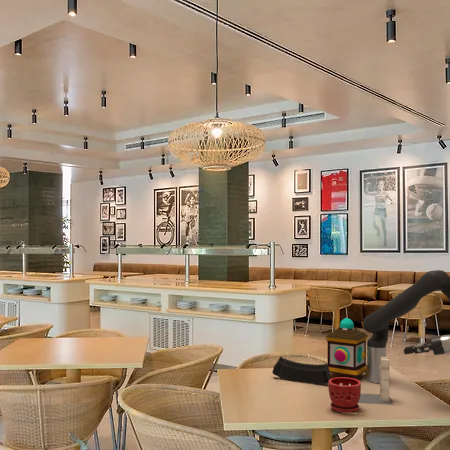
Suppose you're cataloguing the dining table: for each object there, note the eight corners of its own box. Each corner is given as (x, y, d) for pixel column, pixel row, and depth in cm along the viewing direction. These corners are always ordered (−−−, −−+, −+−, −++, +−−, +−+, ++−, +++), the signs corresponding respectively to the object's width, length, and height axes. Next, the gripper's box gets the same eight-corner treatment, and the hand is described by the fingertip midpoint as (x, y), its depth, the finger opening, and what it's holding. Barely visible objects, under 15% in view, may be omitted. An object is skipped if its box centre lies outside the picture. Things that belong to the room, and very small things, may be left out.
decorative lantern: (358, 383, 267) (358, 322, 268) (320, 377, 278) (321, 318, 279) (372, 375, 284) (372, 317, 285) (336, 370, 295) (336, 314, 296)
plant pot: (324, 405, 231) (324, 376, 232) (355, 405, 232) (355, 376, 232) (333, 415, 218) (333, 385, 219) (365, 414, 219) (365, 384, 219)
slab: (379, 397, 241) (380, 356, 242) (387, 398, 241) (387, 357, 241) (381, 401, 235) (381, 359, 236) (389, 402, 235) (389, 360, 235)
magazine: (337, 367, 263) (282, 343, 277) (335, 368, 260) (280, 344, 274) (327, 400, 265) (273, 374, 279) (325, 401, 262) (270, 375, 276)
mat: (338, 393, 249) (338, 392, 249) (388, 396, 246) (388, 394, 246) (340, 403, 234) (340, 402, 234) (393, 406, 231) (393, 404, 231)
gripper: (441, 334, 239) (403, 340, 244) (441, 337, 225) (401, 343, 231) (445, 351, 237) (407, 357, 242) (446, 355, 224) (405, 361, 229)
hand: (404, 350), depth 237 cm, fingers open, 8 cm apart
